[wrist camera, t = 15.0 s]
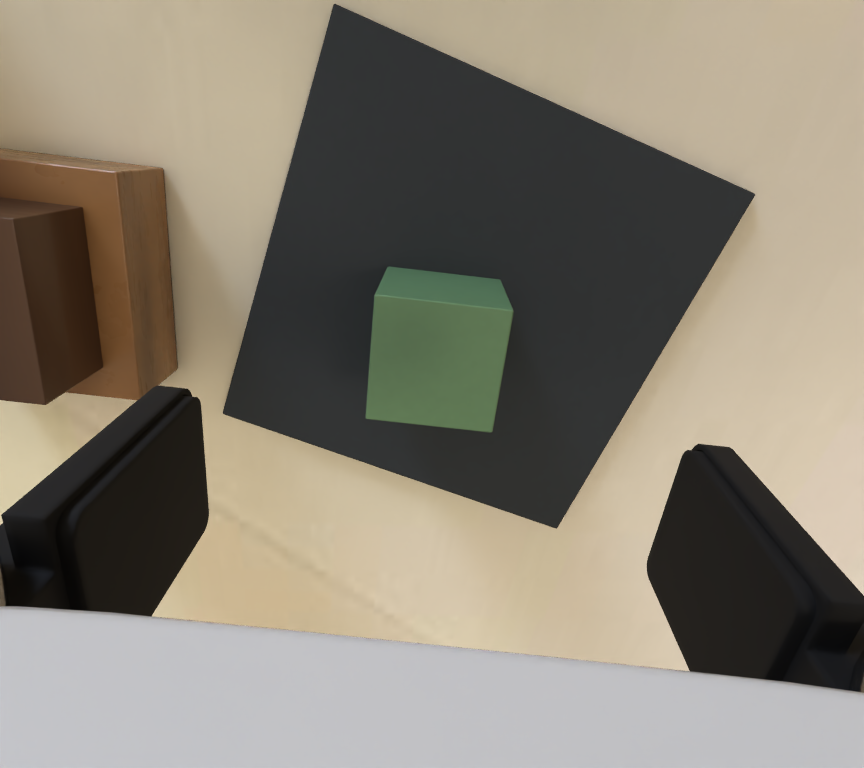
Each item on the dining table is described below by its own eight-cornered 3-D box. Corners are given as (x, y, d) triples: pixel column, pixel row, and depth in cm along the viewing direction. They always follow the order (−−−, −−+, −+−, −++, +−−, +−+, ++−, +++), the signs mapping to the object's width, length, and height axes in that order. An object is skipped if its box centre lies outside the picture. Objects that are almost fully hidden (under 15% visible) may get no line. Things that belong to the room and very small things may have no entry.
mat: (751, 193, 26) (756, 194, 25) (555, 524, 33) (556, 528, 33) (335, 5, 23) (333, 3, 23) (225, 410, 30) (222, 414, 30)
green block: (500, 279, 27) (514, 309, 22) (483, 383, 29) (492, 433, 24) (387, 266, 27) (374, 294, 22) (378, 371, 29) (365, 419, 24)
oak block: (163, 168, 26) (116, 171, 22) (178, 369, 30) (140, 401, 26) (-59, 141, 25) (-144, 140, 22) (-14, 347, 29) (-80, 377, 26)
